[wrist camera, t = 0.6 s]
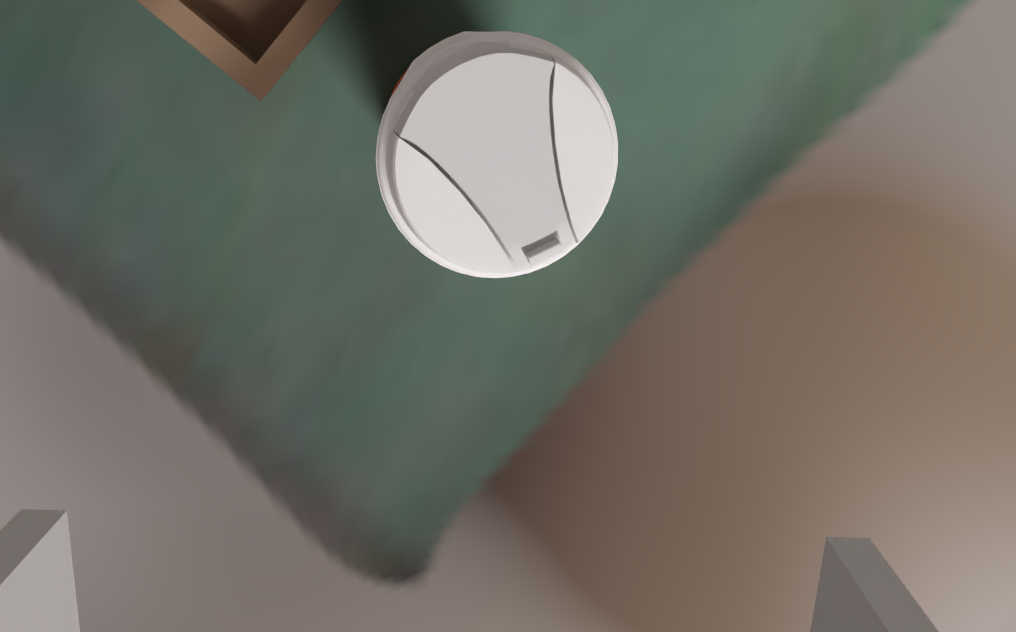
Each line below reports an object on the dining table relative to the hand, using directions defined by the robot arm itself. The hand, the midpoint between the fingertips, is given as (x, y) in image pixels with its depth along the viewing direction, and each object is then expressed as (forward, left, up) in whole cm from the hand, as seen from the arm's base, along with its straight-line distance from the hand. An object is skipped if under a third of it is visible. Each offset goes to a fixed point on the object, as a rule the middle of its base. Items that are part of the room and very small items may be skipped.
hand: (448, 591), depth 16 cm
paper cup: (-1, +6, -28) cm, 28 cm away
